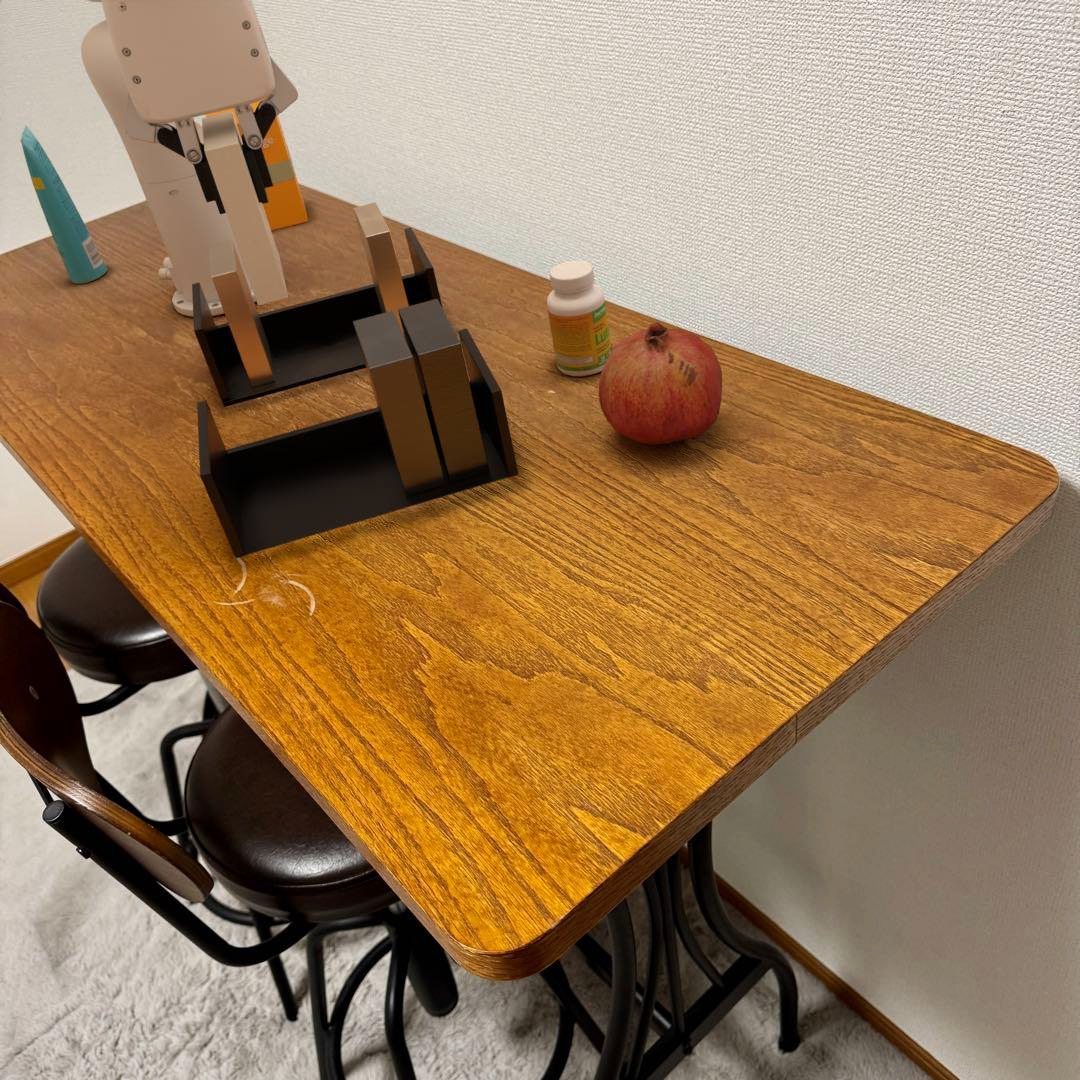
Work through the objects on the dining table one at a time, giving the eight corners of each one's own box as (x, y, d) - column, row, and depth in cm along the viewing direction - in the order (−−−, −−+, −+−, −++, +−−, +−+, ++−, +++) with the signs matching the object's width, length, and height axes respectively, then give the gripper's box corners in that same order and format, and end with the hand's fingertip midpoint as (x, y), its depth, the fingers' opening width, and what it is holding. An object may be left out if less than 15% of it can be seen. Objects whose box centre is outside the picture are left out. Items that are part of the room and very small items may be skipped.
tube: (70, 272, 143) (4, 130, 131) (105, 262, 144) (43, 119, 132) (72, 291, 137) (4, 143, 126) (109, 280, 138) (45, 133, 127)
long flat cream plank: (258, 305, 81) (204, 151, 74) (251, 263, 88) (201, 118, 81) (288, 297, 81) (237, 142, 74) (279, 256, 88) (232, 110, 81)
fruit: (752, 435, 87) (748, 326, 81) (657, 484, 83) (645, 375, 77) (673, 389, 94) (664, 287, 88) (582, 433, 91) (566, 330, 85)
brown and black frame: (225, 411, 104) (178, 291, 96) (221, 360, 114) (177, 247, 106) (452, 348, 107) (424, 227, 99) (429, 304, 117) (402, 190, 109)
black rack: (239, 567, 83) (180, 430, 75) (232, 489, 93) (179, 360, 85) (520, 484, 86) (491, 343, 78) (486, 416, 96) (457, 285, 88)
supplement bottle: (608, 377, 98) (595, 281, 92) (552, 379, 99) (536, 284, 93) (616, 348, 102) (604, 254, 96) (562, 351, 103) (547, 258, 97)
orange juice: (244, 218, 149) (194, 71, 137) (305, 203, 150) (260, 56, 138) (245, 237, 143) (193, 85, 131) (308, 221, 144) (262, 69, 132)
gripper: (268, -97, 73) (339, 164, 85) (36, -48, 71) (140, 212, 83) (277, -86, 67) (351, 193, 79) (24, -32, 65) (138, 246, 77)
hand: (242, 201), depth 81 cm, fingers closed on long flat cream plank, 2 cm apart
